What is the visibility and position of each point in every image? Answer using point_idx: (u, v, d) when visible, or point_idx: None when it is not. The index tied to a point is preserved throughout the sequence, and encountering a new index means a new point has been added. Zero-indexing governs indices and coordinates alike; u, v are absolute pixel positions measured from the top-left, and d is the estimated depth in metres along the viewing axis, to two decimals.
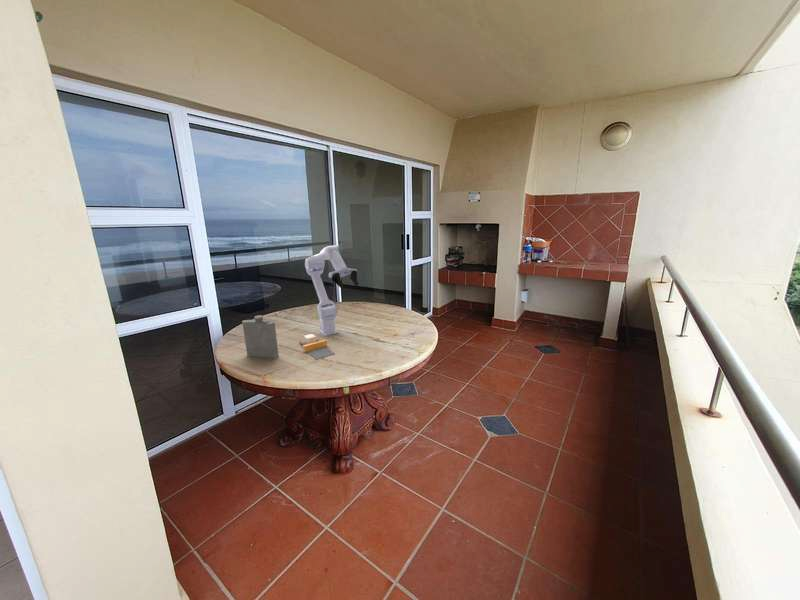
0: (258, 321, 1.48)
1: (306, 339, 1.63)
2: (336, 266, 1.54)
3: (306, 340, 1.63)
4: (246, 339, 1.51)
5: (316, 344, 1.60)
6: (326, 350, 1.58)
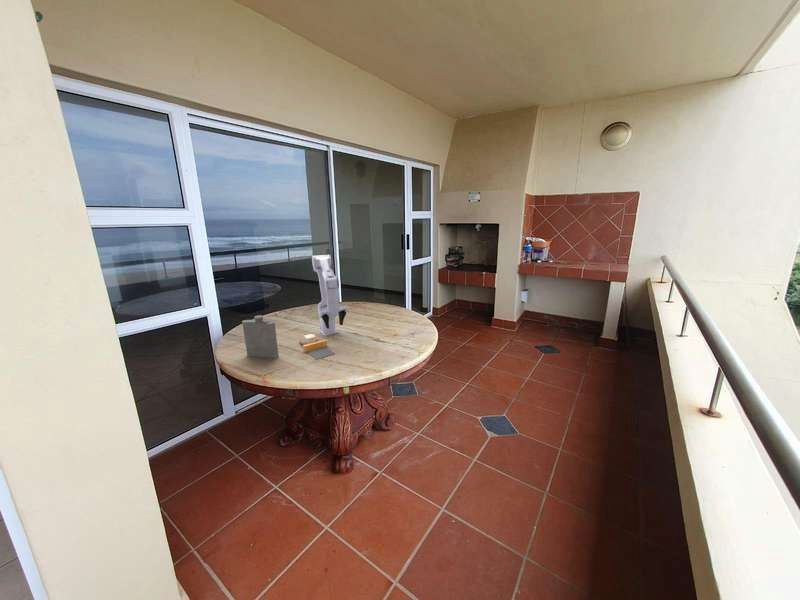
0: (258, 321, 1.48)
1: (306, 339, 1.63)
2: (329, 305, 1.59)
3: (306, 340, 1.63)
4: (246, 339, 1.51)
5: (316, 344, 1.60)
6: (326, 350, 1.58)
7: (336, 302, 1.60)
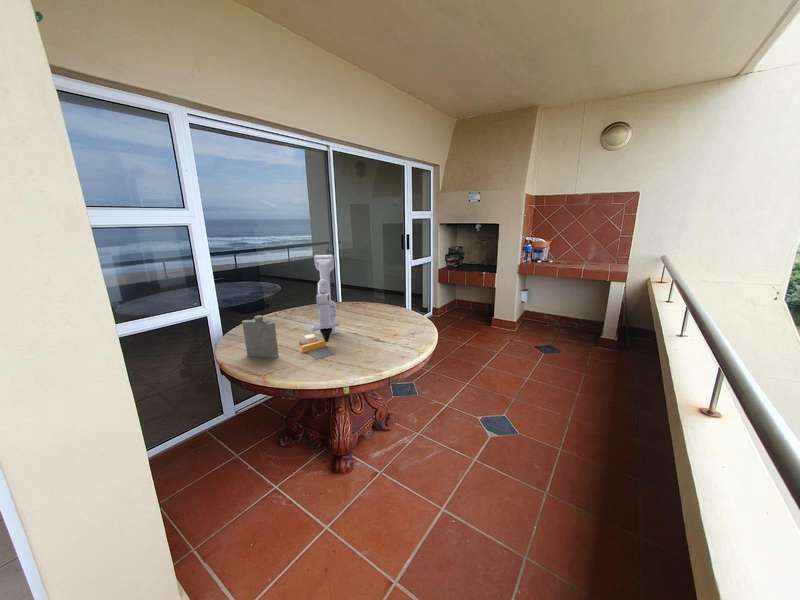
0: (258, 321, 1.48)
1: (306, 339, 1.63)
2: (321, 321, 1.58)
3: (306, 340, 1.63)
4: (246, 339, 1.51)
5: (315, 344, 1.60)
6: (326, 350, 1.58)
7: (328, 318, 1.59)
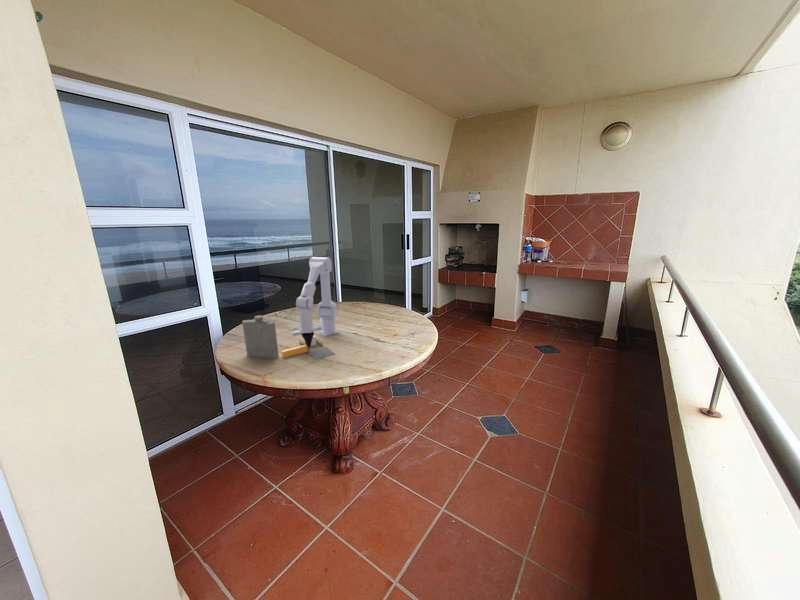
0: (258, 321, 1.48)
1: None
2: (302, 325, 1.53)
3: None
4: (246, 339, 1.51)
5: (296, 349, 1.54)
6: (326, 350, 1.58)
7: (309, 322, 1.53)
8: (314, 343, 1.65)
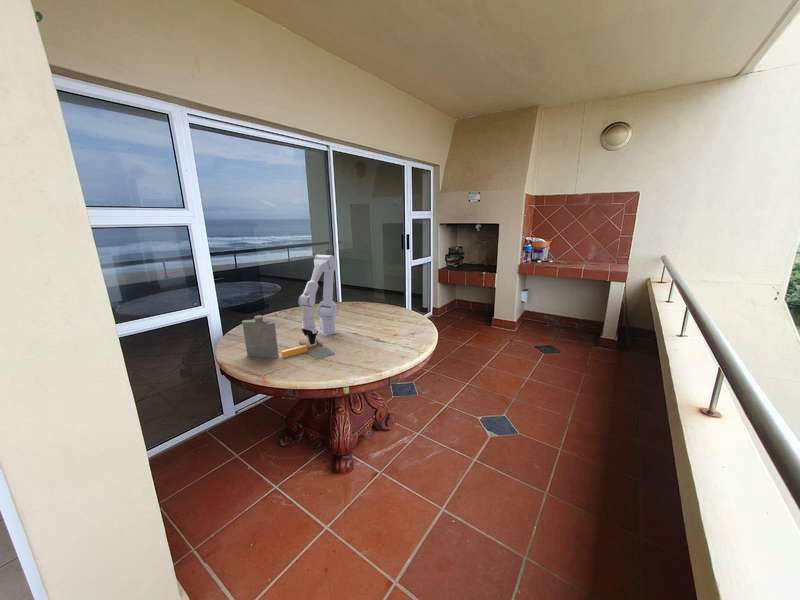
0: (258, 321, 1.48)
1: (306, 339, 1.63)
2: None
3: (306, 339, 1.63)
4: (246, 339, 1.51)
5: (296, 349, 1.54)
6: (326, 350, 1.58)
7: (303, 319, 1.60)
8: None
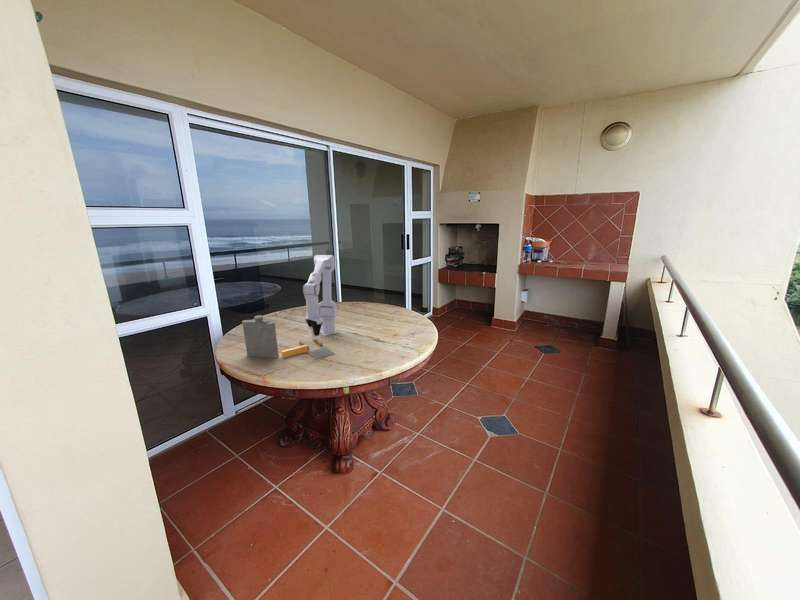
0: (258, 321, 1.48)
1: (310, 331, 1.55)
2: None
3: (310, 331, 1.55)
4: (246, 339, 1.51)
5: (296, 349, 1.54)
6: (326, 350, 1.58)
7: (307, 309, 1.52)
8: (318, 335, 1.57)
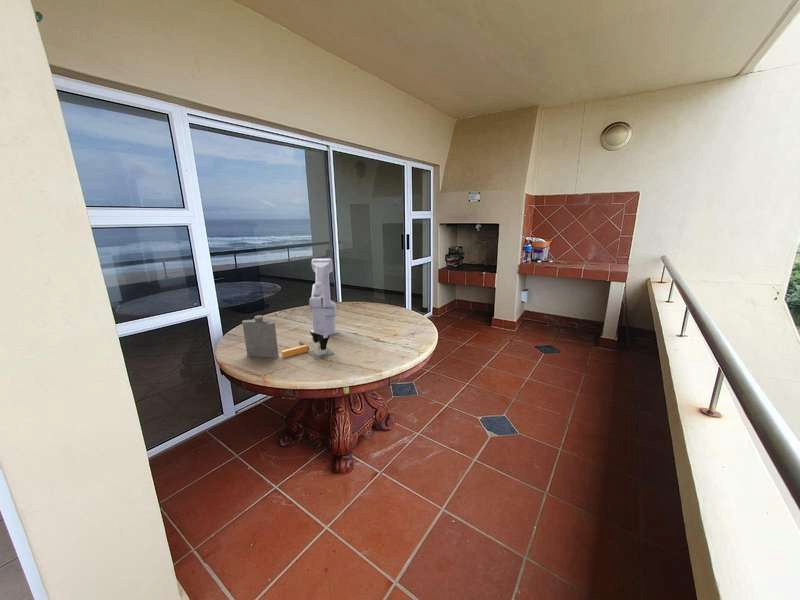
0: (258, 321, 1.48)
1: (316, 347, 1.53)
2: None
3: (316, 347, 1.53)
4: (246, 339, 1.51)
5: (296, 349, 1.54)
6: None
7: (313, 322, 1.49)
8: (324, 351, 1.54)
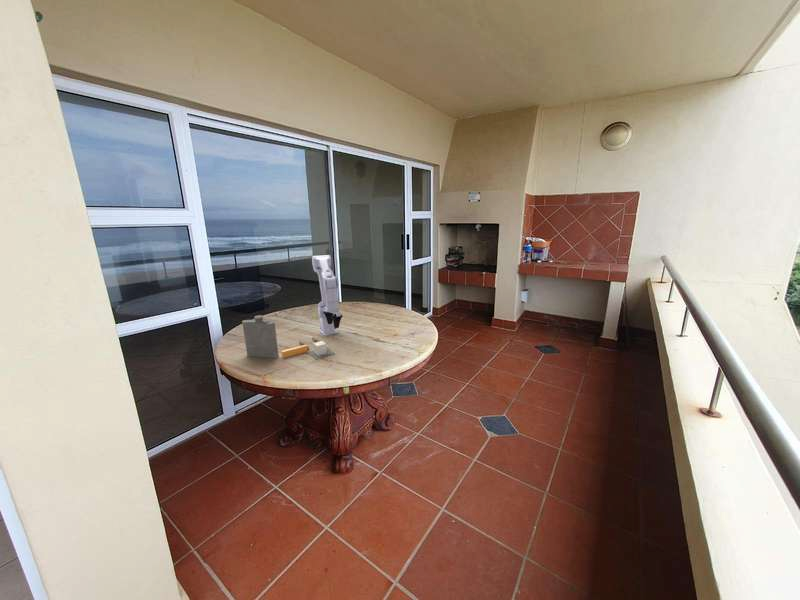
0: (258, 321, 1.48)
1: (316, 347, 1.53)
2: None
3: (316, 347, 1.53)
4: (246, 339, 1.51)
5: (296, 349, 1.54)
6: None
7: (327, 302, 1.60)
8: (324, 351, 1.54)
